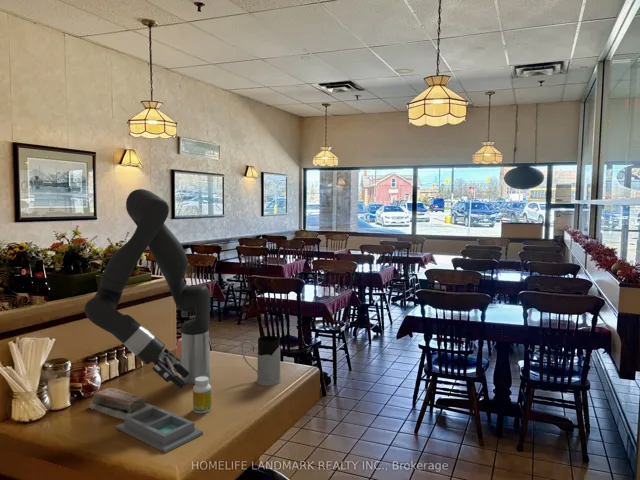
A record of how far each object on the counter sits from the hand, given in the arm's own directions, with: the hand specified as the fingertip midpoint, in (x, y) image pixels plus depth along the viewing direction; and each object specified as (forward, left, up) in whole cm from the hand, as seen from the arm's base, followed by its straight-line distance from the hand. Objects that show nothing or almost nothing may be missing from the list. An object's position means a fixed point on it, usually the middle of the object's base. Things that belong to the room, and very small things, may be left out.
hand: (185, 380), depth 147 cm
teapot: (-35, +30, -10) cm, 47 cm away
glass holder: (+1, +31, -10) cm, 33 cm away
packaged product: (-18, -11, -10) cm, 23 cm away
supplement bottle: (+3, +3, -10) cm, 11 cm away
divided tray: (+4, -13, -9) cm, 16 cm away
